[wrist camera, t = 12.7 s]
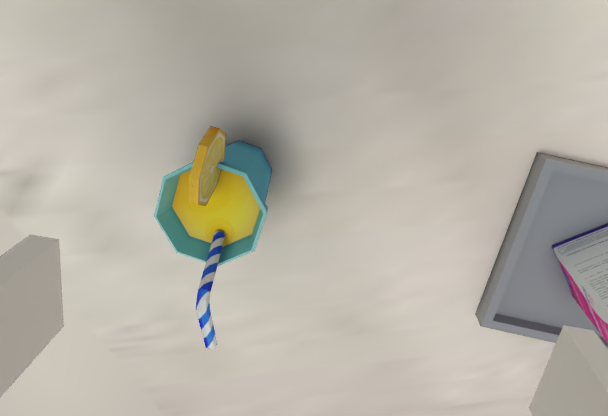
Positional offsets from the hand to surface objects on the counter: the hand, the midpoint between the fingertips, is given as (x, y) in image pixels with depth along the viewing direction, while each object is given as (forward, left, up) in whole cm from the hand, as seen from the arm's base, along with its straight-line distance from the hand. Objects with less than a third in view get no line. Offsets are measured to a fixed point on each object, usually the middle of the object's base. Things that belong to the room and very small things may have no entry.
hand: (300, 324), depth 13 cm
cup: (+7, -7, -30) cm, 31 cm away
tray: (+7, +24, -30) cm, 39 cm away
